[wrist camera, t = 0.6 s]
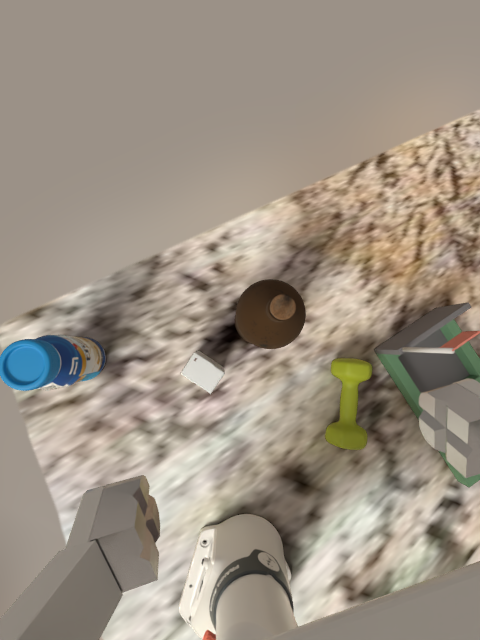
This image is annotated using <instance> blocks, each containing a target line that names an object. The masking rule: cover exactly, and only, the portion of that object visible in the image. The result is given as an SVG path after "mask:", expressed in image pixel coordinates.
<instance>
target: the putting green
mask: <svg viewBox="0 0 480 640" xmlns="http://www.w3.org/2000/svg"><path fill="white" fill-rule="evenodd" d="M470 308H471V306H470V304H469V303H462V304H456V305H450V306H445V307H439V308H435V309H433V310H432V311H430V312H429V313H427V314H426V315H424V316H423V317H421V318H420V319H418V320H417V321H415V322H414V323H412V324H411V325H409V326H408V327H406V328H405V329H403V330H402V331H400V332H399V333H397V334H396V335H394V336H393V337H392V338H390V339H389V340H387V341H386V342H384V343H383V344H381V345H380V346H378V347H377V348H375V349H374V351H375V353H376V354H377V356H378V357H379V359H380V360H381V362H382V364H383V365H384V367H385V368H386V370H387V371H388V373H389V374H390V376H391V378H392V379H393V381H394V382H395V384H396V385H397V387H398V388H399V390H400V392H401V393H402V395H403V396H404V398H405V399H406V401H407V403H408V404H409V406H410V407H411V409H412V410H413V412H414V413H415V415H416V417H417V418H418V420H419V417H420V415H421V413H422V411H423V409H422V408H421V407H420V406H419V396H420V394H421V393H423V392H426V391H429V390H433V389H436V388H439V387H442V386H446V385H449V384H452V383H454V382H458V381H461V380H464V379H467V378H469V379H474V380H476V381H478V382H479V383H480V359H479V357H478V355H477V354H476V352H475V351H474V349H473V348H472V346H471V345H470V343H469V342H468V341H469V340H470V339H472V338H473V337H475V336H476V335H478V334H479V333H480V331H466V332H462V331H461V329H460V328H459V326H458V325H457V323H456V322H455V320H454V319H455V318H456V317H458V316H459V315H461V314H462V313H464V312H465V311H467V310H468V309H470ZM439 452H440V454H441V456H442V457H443V459H444V460H445V462H446V463H447V465H448V466H449V468H450V470H451V471H452V473H453V474H454V476H455V477H456V479H457V481H459V482H460V483H462V484H464V485H466V486H467V487H471V486H472V485H473V484H475V483H476V482H477V481H479V480H480V474H478V475H475V476H471V477H468V478H465V477H464V476H463V475H462V474H461V473H460V472H459V471H458V470H456V469H455V468H454V467H453V466H452V465H451V464H450V463H449V462H448V461H447V460H446V454H445V453H444V452H441V451H439Z"/></svg>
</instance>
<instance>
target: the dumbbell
mask: <svg viewBox="0 0 480 640" xmlns="http://www.w3.org/2000/svg"><path fill="white" fill-rule="evenodd" d="M331 373H332V374H333V375H334V376H335V377H337V378H339V379H340V380H341V381H342V390H341V397H340V419H339V421H338V422H334V423H331V424H330V425H328V427H327V428H326V434H325V439H326V441H327V442H328V443H330V444H332V445H335V446H337V447H339V448H343V449H349V450H361V449H363V448H365V446H366V444H367V432H366V431H365V430H364V429H363V428H362V427H360V426H358V425H357V424H356V415H357V406H358V385H359V383H361V382H363V381H366V380H368V379H369V378H370V377H371V375H372V365H371V364H370V363H368V362H366V361H364V360H360V359H352V358H337V359H334V360H333V361H332V363H331Z"/></svg>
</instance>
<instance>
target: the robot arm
mask: <svg viewBox="0 0 480 640" xmlns="http://www.w3.org/2000/svg"><path fill="white" fill-rule="evenodd" d="M419 406H420V407H421V408H422V409H423V411H422V413H421V415H420V417H419V427H420V430H421V432H422V435H423V437H424V438H425V440H426V441H427V442H428V443H429V444H430V445H431V446H432V447H433V448H434V449H435V450H438V451H441V452H444V453H445V454H446V460H447V461H448V462H449V463H450V464H451V465H452V466H453V467H454V468H455V469H456V470H458V471H459V472H460V473H461V474H462V475H463V476H464V477H465V478H468V477H471V476H475V475H478V474H480V383H479V382H478V381H476V380H474V379H469V378H467V379H464V380H461V381H458V382H454V383H452V384H449V385H446V386H442V387H439V388H436V389H433V390H429V391H426V392H423V393H421V394H420V396H419ZM159 536H160V520H159V512H158V508H157V504H156V501H155V499H154V497H152V496H150V495H149V483H148V481H147V479H146V476H144V475H141V476H137V477H134V478H130V479H126V480H122V481H119V482H115V483H111V484H108V485H106V486H102V487H98V488H94V489H91V490H87V491H86V492H85V493H84V495H83V497H82V500H81V503H80V506H79V509H78V512H77V515H76V518H75V521H74V524H73V527H72V530H71V533H70V536H69V539H68V542H67V545H66V548H65V550H62V551H59V552H58V553H57V554H56V555H55V556H54V558H53V559H52V560H51V561H50V562H49V563H48V564H47V566H46V567H45V568H44V569H43V570H42V571H41V573H40V574H39V575H38V576H37V577H36V578H35V579H34V580H33V582H32V583H31V584H30V585H29V586H28V587H27V588H26V590H25V591H24V592H23V593H22V594H21V595H20V596H19V598H18V599H17V600H16V601H15V602H14V603H13V604H12V606H11V607H10V608H9V609H8V610H7V611H6V612H5V614H4V615H3V616H2V617H1V618H0V640H99V639H100V637H101V635H102V633H103V631H104V630H105V628H106V626H107V624H108V622H109V620H110V618H111V616H112V614H113V613H114V611H115V609H116V607H117V605H118V603H119V601H120V599H121V597H122V595H123V594H122V593H123V592H126V591H128V590H131V589H134V588H137V587H139V586H142V585H145V584H148V583H150V582H153V581H156V580H158V561H159V552H158V549H157V547H156V544H155V543H156V541H157V540H158V538H159ZM203 540H206V541H207V542H203ZM290 579H291V571H290V568H289V566H288V564H287V562H286V560H285V558H284V551H283V544H282V540H281V538H280V535H279V533H278V532H277V530H276V529H275V527H274V526H273V525H272V524H271V523H270V522H268V521H267V520H266V519H264V518H262V517H260V516H257V515H252V514H241V515H236V516H233V517H231V518H229V519H227V520H225V521H224V522H222V523H220V524H218V525H211V526H206V527H204V528H202V530H201V531H200V534H199V538H198V541H197V545H196V548H195V551H194V555H193V558H192V562H191V565H190V569H189V572H188V575H187V579H186V582H185V586H184V589H183V592H182V596H181V599H180V603H179V612H180V614H181V616H182V617H183V619H184V620H185V621H186V623H187V624H188V625H189V626H191V627H192V628H193V630H194V631H195V633H196V634H197V635H198V636H199V637H200V638H201V639H203V640H480V561H479V562H476V563H473V564H470V565H468V566H465V567H462V568H459V569H456V570H454V571H451V572H448V573H445V574H443V575H440V576H437V577H434V578H432V579H429V580H426V581H423V582H421V583H418V584H415V585H412V586H409V587H407V588H404V589H401V590H398V591H396V592H393V593H390V594H387V595H385V596H382V597H379V598H376V599H374V600H371V601H368V602H365V603H363V604H360V605H357V606H354V607H351V608H349V609H346V610H343V611H340V612H338V613H335V614H332V615H329V616H327V617H324V618H321V619H318V620H315V621H313V622H310V623H307V624H304V625H302V626H299V627H298V625H297V623H296V620H295V617H294V614H293V601H292V595H291V590H290V584H289V581H290ZM190 616H191V618H190Z"/></svg>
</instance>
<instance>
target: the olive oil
mask: <svg viewBox="0 0 480 640" xmlns="http://www.w3.org/2000/svg"><path fill="white" fill-rule="evenodd" d="M305 316H306V313H305V306H304V302H303V300H302V298H301V296H300V295H299V293H298V292H297V291H296V290H295V289H294V288H293V287H292V286H290V285H289V284H287V283H285V282H282V281H279V280H271V279H270V280H262V281H259V282H257V283H254V284H253V285H251V286H250V287H248V288H247V289H246V290H245V291H244V292H243V294H242V295H241V297H240V299H239V301H238V304H237V308H236V315H235V327H236V330H237V332H238V334H239V335H240V336H241V338H242V339H244V340H245V341H246V342H248V343H251V344H254V345H256V346H258V347H261V348H265V349H276V348H281V347H284V346H286V345H288V344H289V343H291V342H292V341H293V340H295V339H296V338H297V336H298V335H299V334H300V332H301V330H302V328H303V326H304V323H305Z"/></svg>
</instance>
